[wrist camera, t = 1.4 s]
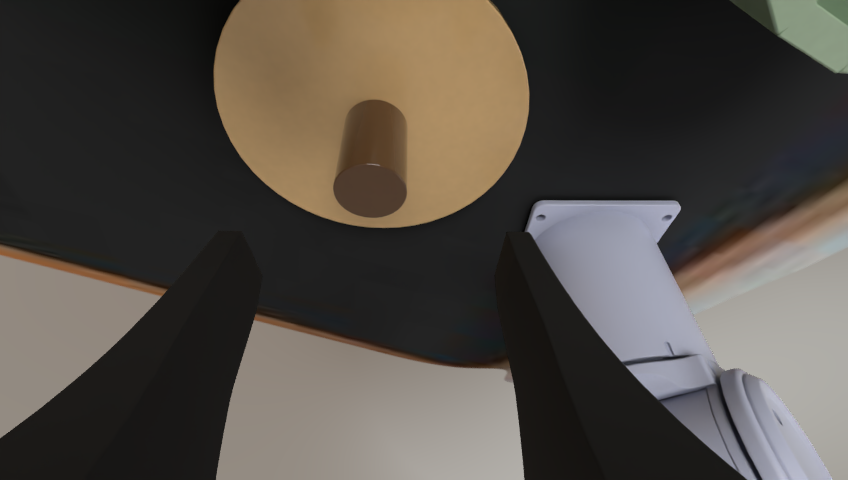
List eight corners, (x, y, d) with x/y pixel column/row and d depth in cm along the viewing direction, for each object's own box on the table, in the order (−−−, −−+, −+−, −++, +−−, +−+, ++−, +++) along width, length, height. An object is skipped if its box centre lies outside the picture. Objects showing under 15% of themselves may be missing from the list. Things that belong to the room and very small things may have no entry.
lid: (498, 213, 23) (513, 291, 19) (269, 213, 22) (244, 292, 19) (562, -60, 13) (613, 0, 10) (162, -69, 13) (74, -10, 9)
